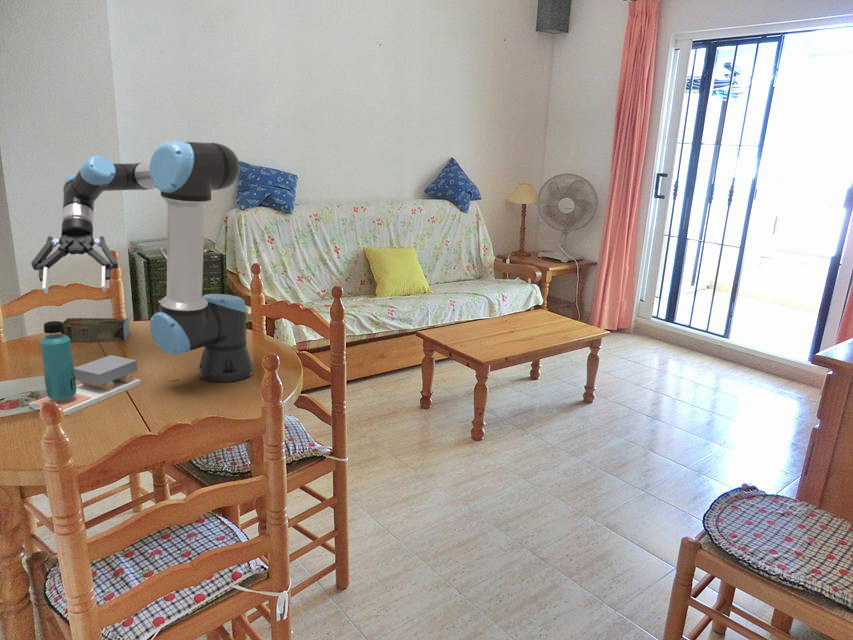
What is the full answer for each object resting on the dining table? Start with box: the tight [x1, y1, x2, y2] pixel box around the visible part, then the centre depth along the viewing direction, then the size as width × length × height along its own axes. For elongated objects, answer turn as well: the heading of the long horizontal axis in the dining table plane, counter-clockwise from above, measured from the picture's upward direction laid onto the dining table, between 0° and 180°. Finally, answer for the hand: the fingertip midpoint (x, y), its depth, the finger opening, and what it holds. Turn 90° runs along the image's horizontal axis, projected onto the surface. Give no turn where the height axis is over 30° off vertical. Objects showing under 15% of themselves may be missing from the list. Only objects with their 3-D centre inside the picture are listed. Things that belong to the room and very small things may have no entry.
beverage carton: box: [60, 317, 131, 343], centre depth 201 cm, size 8×19×7 cm, turn 103°
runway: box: [28, 373, 142, 417], centre depth 158 cm, size 11×24×4 cm, turn 159°
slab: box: [74, 354, 138, 385], centre depth 162 cm, size 9×12×3 cm
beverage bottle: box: [40, 320, 77, 399], centre depth 148 cm, size 6×7×20 cm
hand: (74, 290), depth 161 cm, fingers open, 13 cm apart
